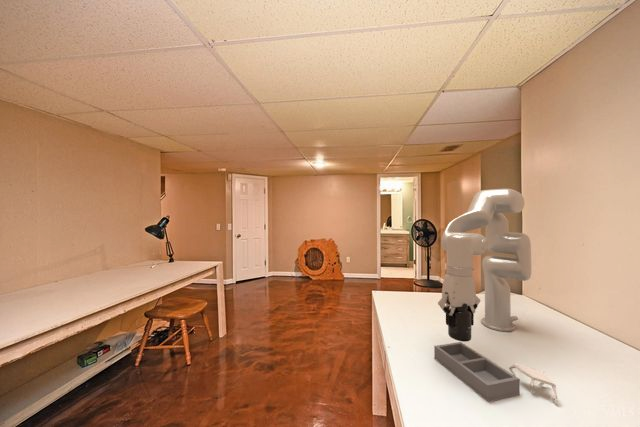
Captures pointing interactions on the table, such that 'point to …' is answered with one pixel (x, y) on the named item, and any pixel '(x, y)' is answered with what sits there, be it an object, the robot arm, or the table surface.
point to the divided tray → (477, 371)
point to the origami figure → (535, 378)
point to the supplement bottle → (461, 324)
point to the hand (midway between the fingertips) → (459, 324)
